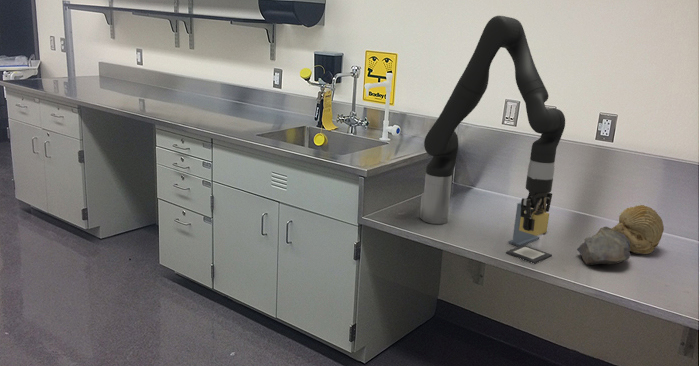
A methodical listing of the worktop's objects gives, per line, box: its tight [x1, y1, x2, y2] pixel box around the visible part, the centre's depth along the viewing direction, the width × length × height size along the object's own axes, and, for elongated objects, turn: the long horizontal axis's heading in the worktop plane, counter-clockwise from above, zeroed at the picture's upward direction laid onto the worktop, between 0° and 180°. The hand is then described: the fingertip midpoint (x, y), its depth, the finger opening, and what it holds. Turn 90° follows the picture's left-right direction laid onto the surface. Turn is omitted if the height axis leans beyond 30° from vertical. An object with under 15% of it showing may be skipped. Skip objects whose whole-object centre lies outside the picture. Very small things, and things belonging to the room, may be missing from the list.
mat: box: [505, 244, 553, 264], centre depth 181 cm, size 10×10×1 cm
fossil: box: [611, 204, 665, 255], centre depth 190 cm, size 15×17×15 cm
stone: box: [576, 226, 632, 266], centre depth 178 cm, size 18×10×15 cm
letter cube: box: [519, 208, 550, 236], centre depth 178 cm, size 6×6×6 cm
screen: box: [508, 201, 540, 247], centre depth 191 cm, size 4×12×14 cm, turn 132°
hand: (533, 227), depth 179 cm, fingers closed on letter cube, 6 cm apart
